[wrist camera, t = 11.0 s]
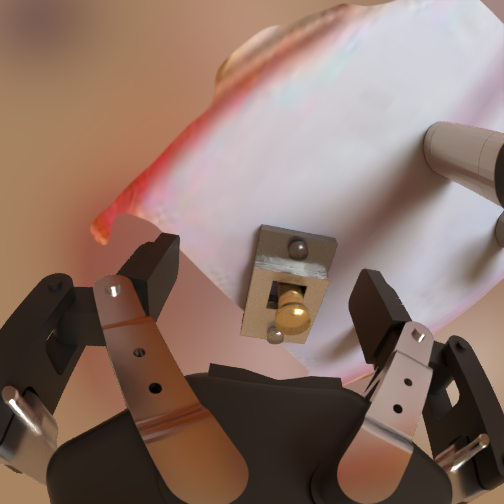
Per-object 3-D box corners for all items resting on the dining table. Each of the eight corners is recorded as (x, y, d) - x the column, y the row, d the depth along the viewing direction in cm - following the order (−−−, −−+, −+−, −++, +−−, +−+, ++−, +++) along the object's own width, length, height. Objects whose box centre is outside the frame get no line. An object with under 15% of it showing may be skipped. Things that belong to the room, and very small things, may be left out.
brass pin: (307, 274, 47) (315, 311, 38) (299, 298, 49) (305, 337, 40) (277, 269, 47) (279, 306, 38) (271, 293, 49) (271, 332, 40)
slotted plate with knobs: (335, 238, 43) (343, 254, 39) (302, 329, 53) (305, 349, 48) (261, 224, 43) (261, 239, 38) (242, 320, 52) (239, 341, 47)
